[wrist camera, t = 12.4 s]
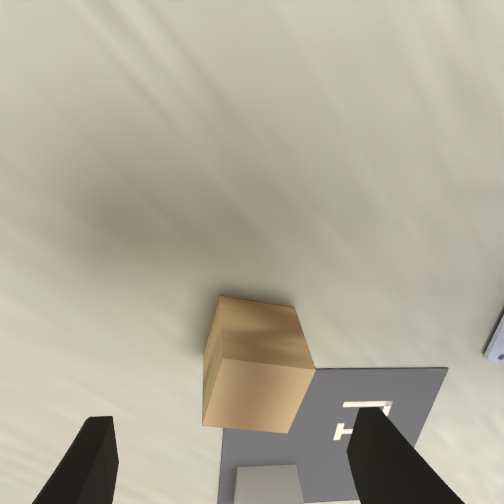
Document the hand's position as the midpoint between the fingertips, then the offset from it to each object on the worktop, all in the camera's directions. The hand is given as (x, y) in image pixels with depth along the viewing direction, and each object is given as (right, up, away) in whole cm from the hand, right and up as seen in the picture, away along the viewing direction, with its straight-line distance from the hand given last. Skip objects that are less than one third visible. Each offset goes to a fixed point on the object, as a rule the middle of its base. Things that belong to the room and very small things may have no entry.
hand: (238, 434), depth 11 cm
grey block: (+1, -13, +18) cm, 22 cm away
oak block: (0, +1, +11) cm, 12 cm away
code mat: (+6, -9, +17) cm, 20 cm away
